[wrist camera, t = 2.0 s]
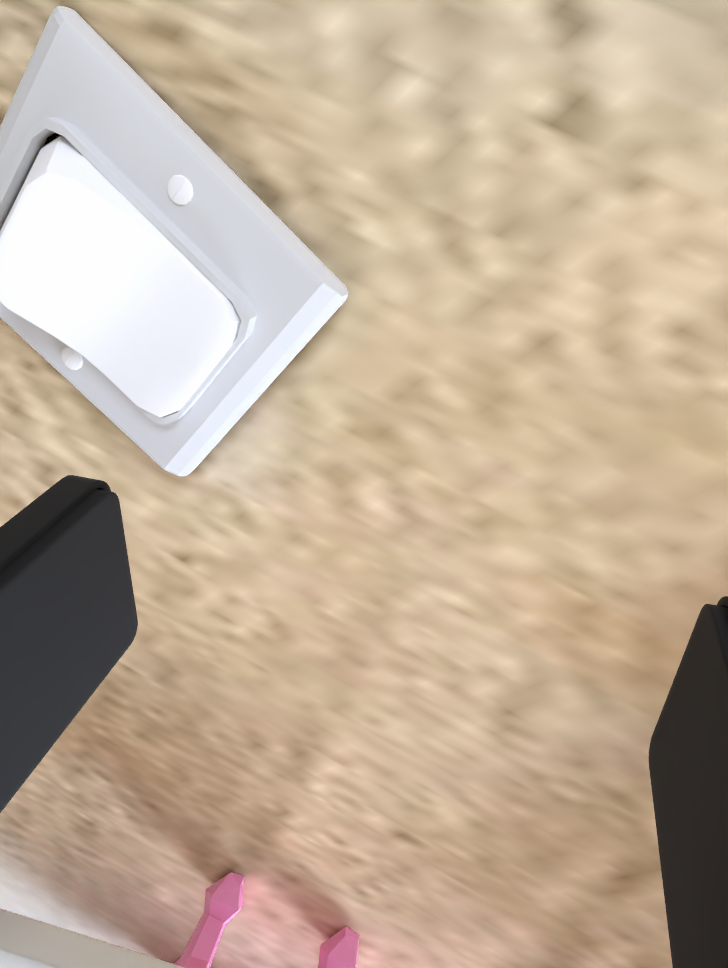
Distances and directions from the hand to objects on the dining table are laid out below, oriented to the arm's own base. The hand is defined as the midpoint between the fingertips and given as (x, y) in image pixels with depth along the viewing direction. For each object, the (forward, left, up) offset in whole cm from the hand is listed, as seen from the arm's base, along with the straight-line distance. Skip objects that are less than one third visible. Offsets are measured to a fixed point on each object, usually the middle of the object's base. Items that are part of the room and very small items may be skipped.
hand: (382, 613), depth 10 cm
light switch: (+13, 0, -16) cm, 21 cm away
